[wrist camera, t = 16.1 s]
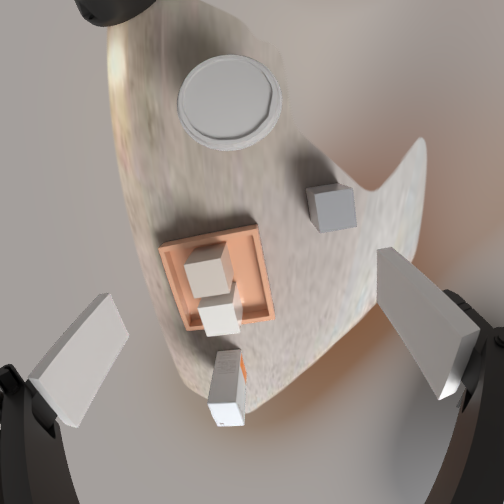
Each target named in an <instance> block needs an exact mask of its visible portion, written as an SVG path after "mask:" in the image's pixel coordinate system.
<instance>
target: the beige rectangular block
mask: <svg viewBox="0 0 504 504" xmlns="http://www.w3.org/2000/svg"><path fill="white" fill-rule="evenodd" d="M184 268H185V271H186V274H187V278H188V281H189V284H190V287H191V290H192V293H193V296H194V298H201V297H208V296H214V295H221V294H227V293H230V289H231V284H232V280H233V275H234V271H233V267H232V263H231V259H230V254H229V250H228V246H227V242H225V243H220V244H215V245H209V246H204V247H199V248H195V249H194V250H193V252H192V253H191V255H190V256H189V258H188V259H187V261H186V262H185V264H184Z"/></svg>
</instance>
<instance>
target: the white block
mask: <svg viewBox="0 0 504 504" xmlns="http://www.w3.org/2000/svg"><path fill="white" fill-rule="evenodd" d="M197 309H198V312H199V315H200V317H201V320H202V323H203V326H204V329H205V332H206V335H207V337H210V336H219V335H227V334H235V333H240V332H241V323H242V313H243V307H242V303H241V299H240V295H239V291H238V287H237V283H236V282H233V283H232V284H231V289H230V293H227V294H221V295H214V296H208V297H202V298H201V300H200V303H199V305H198V308H197Z"/></svg>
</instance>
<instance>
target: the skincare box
mask: <svg viewBox="0 0 504 504" xmlns="http://www.w3.org/2000/svg"><path fill="white" fill-rule="evenodd" d="M246 383H247V372H246V368H245V365H244V361H243V357H242V352H241V350H240V349H237V350H227V351H217V355H216V360H215V365H214V370H213V375H212V380H211V386H210V391H209V396H208V402H207V404H208V407H209V409H210V411H211V414H212V416H213V418H214V420H215V422H216V424H217V426H241V425H244V420H245V401H246Z"/></svg>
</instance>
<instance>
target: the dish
mask: <svg viewBox="0 0 504 504" xmlns="http://www.w3.org/2000/svg"><path fill="white" fill-rule="evenodd" d="M225 242H227V246H228V250H229V254H230V259H231V263H232V267H233V271H234V275H233V280H232V283H233V282H236V283H237V287H238V291H239V295H240V299H241V303H242V307H243V313H242V323H241V324H248V323H255V322H261V321H267V320H274V319H275V310H274V305H273V300H272V295H271V289H270V284H269V279H268V274H267V269H266V264H265V259H264V254H263V249H262V244H261V239H260V234H259V229H258V224H254V225H249V226H243V227H238V228H233V229H228V230H223V231H218V232H213V233H208V234H203V235H198V236H193V237H188V238H183V239H179V240H174V241H169V242H164V243H163V244H162V245H161V246H160V247H159V248H158V250H159V253H160V256H161V259H162V262H163V266H164V269H165V272H166V275H167V278H168V281H169V284H170V287H171V290H172V293H173V295H174V298H175V301H176V304H177V307H178V309H179V312H180V315H181V318H182V320H183V323H184V325H185V328H186V331H193V330H202V329H204V326H203V323H202V320H201V317H200V315H199V312H198V309H197V308H198V305H199V303H200V300H201V298H202V297H201V298H194V296H193V293H192V290H191V287H190V284H189V281H188V278H187V274H186V271H185V268H184V264H185V262H186V261H187V259H188V258H189V256H190V255H191V253H192V252H193V250H194V249H195V248H199V247H204V246H209V245H215V244H220V243H225Z"/></svg>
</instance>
